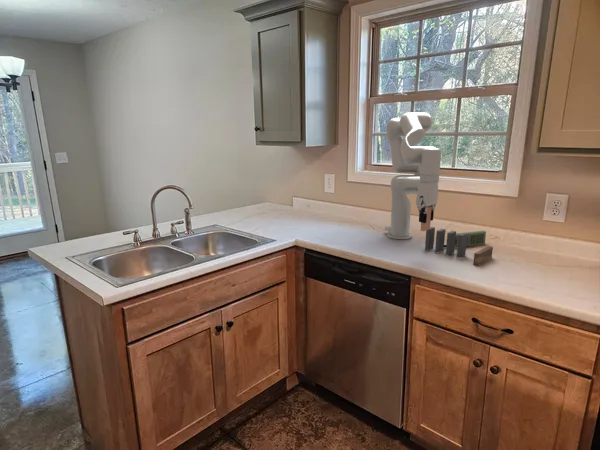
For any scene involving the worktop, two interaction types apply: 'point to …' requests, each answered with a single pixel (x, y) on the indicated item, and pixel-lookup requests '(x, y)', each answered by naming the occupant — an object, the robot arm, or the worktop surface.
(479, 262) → the bar
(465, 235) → the domino
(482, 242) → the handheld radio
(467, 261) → the worktop surface
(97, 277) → the worktop surface
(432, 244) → the domino
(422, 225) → the domino
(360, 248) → the worktop surface
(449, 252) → the domino
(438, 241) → the domino
